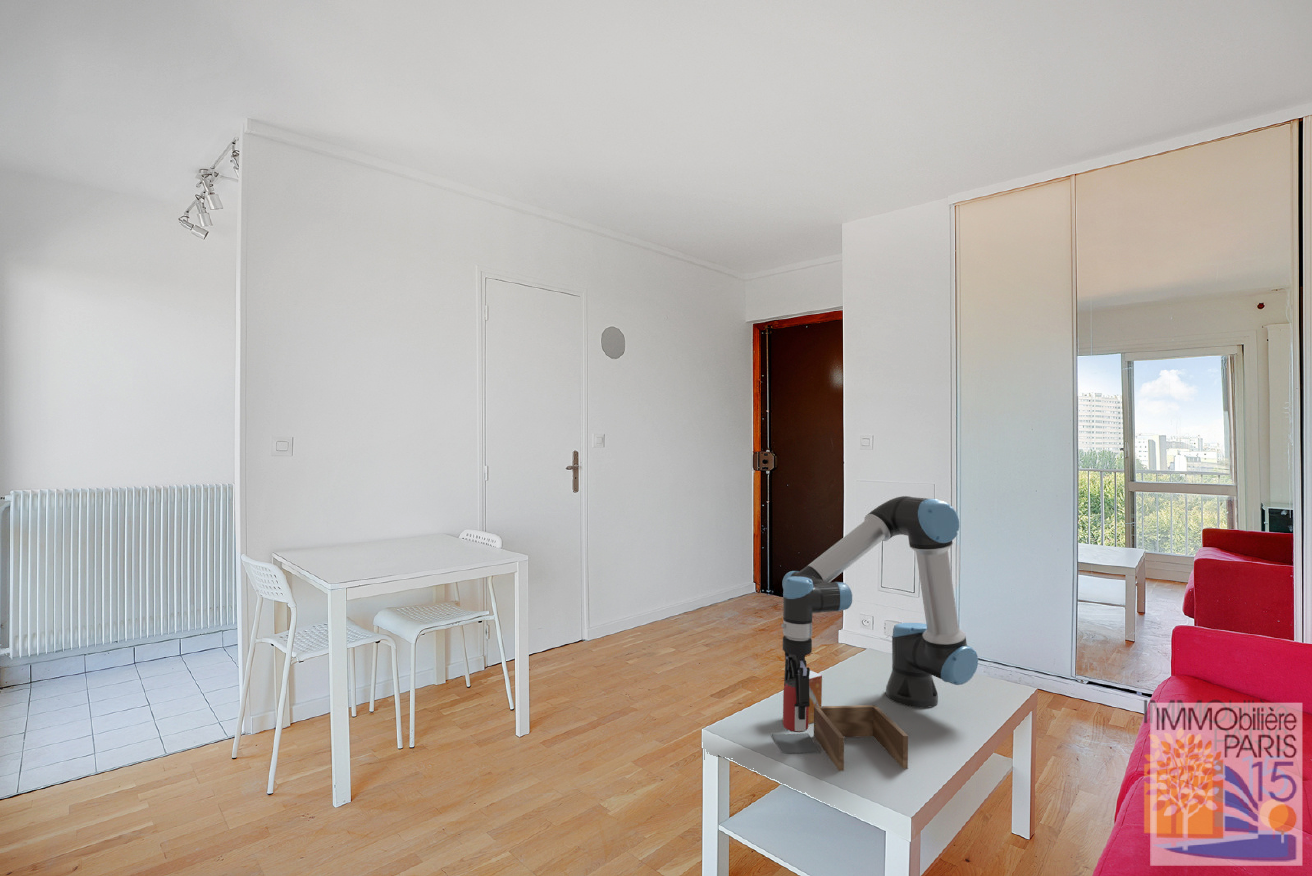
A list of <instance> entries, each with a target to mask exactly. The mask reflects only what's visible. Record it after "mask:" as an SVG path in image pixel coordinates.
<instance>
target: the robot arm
mask: <svg viewBox="0 0 1312 876" xmlns="http://www.w3.org/2000/svg"><path fill="white" fill-rule="evenodd" d="M959 530H960V519H959V515H958V513H957V511H956V510H955V508H954V507H953V506H952V505H950V504H949V503H948V502H945V501H943V500H939V499H936V498H926V497H913V496H910V495H909V496H907V495H905V496H904V495H903V496H897V497H894V498H891V499H889V500H887V501H885V502H883V503H882V504H880V505H878V506H876V507H875V508H874V509H873V510H871V511H870V512H868V513H867V514H866V515H865V516H864V521H863V522H861V523H860V524H859V525H858V526H856V527H855V528H854V529H852V530H851V531H850V532H849V533H847V534H846V535H845V536H843V538H841V539H840V540H838V541H837V542H835V543H834V544H833V545H832V546H830V547H829V548H828V549H827V550H825V551H824V552H823V553H821V554H820V555H819V556H818V557H817V558H815V559H814V560H813V561H811V562H810V563H809V564H808V565H806V566H805V567H804V568H803V569H801V570H792V571H789V572H787V573H786V574H785V575H784V576H783V579H782V589H783V593H782V596H783V597H782V599H783V601H782V602H783V603H782V604H783V607H782V609H783V610H782V611H783V614H782V616H783V617H782V619H783V620H782V621H783V622H782V624H781V625H780V627H781V628H782V635H783V637H782V650H783V652H784V680H783V682H784V683H783V686H785V684H786V680H788V679H795V691H796V704H794V707H795V731H804V732H806V731H807V730H806V707H809V706H810V701H809V674H810V670H811V668H810V667H809V666H808V667H807V660H806V658H805V657H807V655H810V654H811V653H812V651H813V649H812V648H813V646H812V645H813V641H812V640H813V639H812V636H813V614H819V613H829V612H831V613H832V612H836V613H838V612H841V611H846V610H848V609H849V608H850V607H851V606H852V604H853V592H852V589H851V588H850V586H849V585H848V584H847V583H845V582H844V581H843V582H842V581H841V582H840V581H833V580H834V579H836V578H837V577H838V576H839V575H840V574H842V573H843V572H844V571H845V570H847V569H848V568H849V567H851V566H852V565H853V564H854V563H856V562H857V561H859V560H860V559H861V558H863V556H865V554H867V553H868V552H870V551H871V550H872V549H873V548H875V547H876V546H877V545H878V544H879V543H881V542H887V541H889V540H890V539H891V538H893V537H895V536H901V535H902V536H907V537H908V545H909V548H911V549H912V550H913V551H915V554H916V560H917V561H916V562H917V568H918V575H919V581H920V582H919V583H920V589H921V596H922V602H923V609H924V617H925V623H921V622H901V623H897V624H895V625H894V626H893V628H892V635H891V640H892V641H891V650H892V651H891V652H892V653H891V654H892V655H891V656H892V657H891V662H892V663H891V664H892V666H891V673H890V676H889V678H888V680H887V684H886V686H885V687H886V688H885V696H886V697H887V698H888V699H889V700H891V701H892V702H895V703H896V704H899V705H902V706H905V707H912V708H921V709H922V708H924V709H925V708H931V707H935V706H936V705H937V704H938V703H939V694H938V690H937V687H936V684H935V680H934V678H933V677H936V678H938V679H940V680H942V681H943V682H944V683H948V684H952V685H955V686H961V685H964V684H966V683H968V682H970V681H971V680H972V678H973V677H974V674H976V671H977V670H978V666H979V665H978V664H979V657H978V654H977V652H976V650H975V649H973V647H971V646H969V645H968V643H967V636H966V633H965V632H964V631H963V630H962V629H960V627H959V620H958V614H957V606H956V605H957V604H956V600H955V599H956V598H955V591H954V585H953V579H952V578H953V577H952V571H951V563H950V557H949V549H950V548H951V547H952V546H953V544H954V542H953V540H955V538H957V535H958V532H959ZM832 581H833V582H832ZM798 674H799V675H798Z"/></svg>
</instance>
